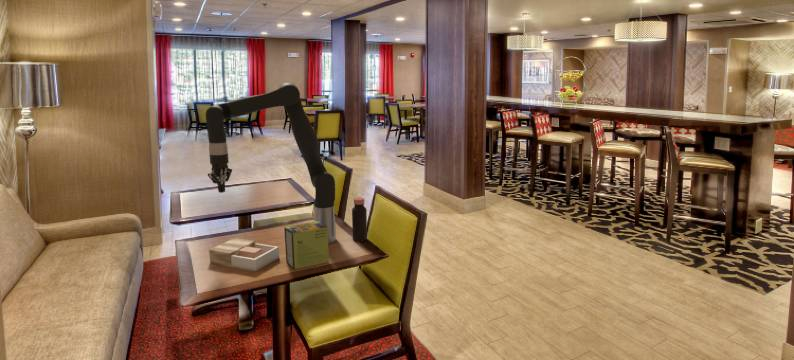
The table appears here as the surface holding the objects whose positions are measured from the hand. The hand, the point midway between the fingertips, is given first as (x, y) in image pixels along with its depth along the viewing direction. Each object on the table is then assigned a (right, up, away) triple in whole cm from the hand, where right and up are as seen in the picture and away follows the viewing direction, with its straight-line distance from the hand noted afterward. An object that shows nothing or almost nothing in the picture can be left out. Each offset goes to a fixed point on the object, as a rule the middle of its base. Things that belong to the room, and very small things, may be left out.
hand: (221, 192), depth 218 cm
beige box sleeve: (+6, -28, -3) cm, 29 cm away
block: (+11, -26, -7) cm, 29 cm away
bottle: (+58, -23, +20) cm, 66 cm away
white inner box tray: (+17, -29, -7) cm, 35 cm away
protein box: (+38, -29, -7) cm, 49 cm away
